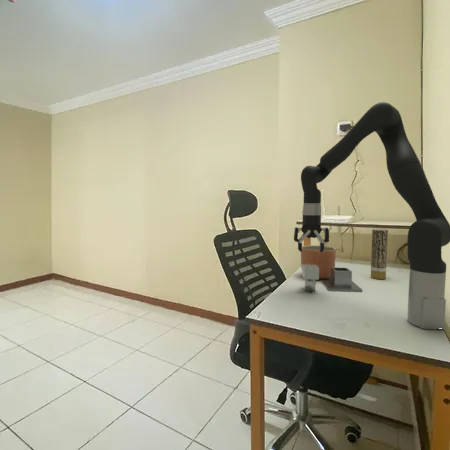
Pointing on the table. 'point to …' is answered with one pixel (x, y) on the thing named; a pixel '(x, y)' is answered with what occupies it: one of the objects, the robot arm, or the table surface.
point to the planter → (319, 259)
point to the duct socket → (341, 281)
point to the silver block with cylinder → (310, 276)
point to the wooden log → (379, 253)
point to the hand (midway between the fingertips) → (310, 251)
